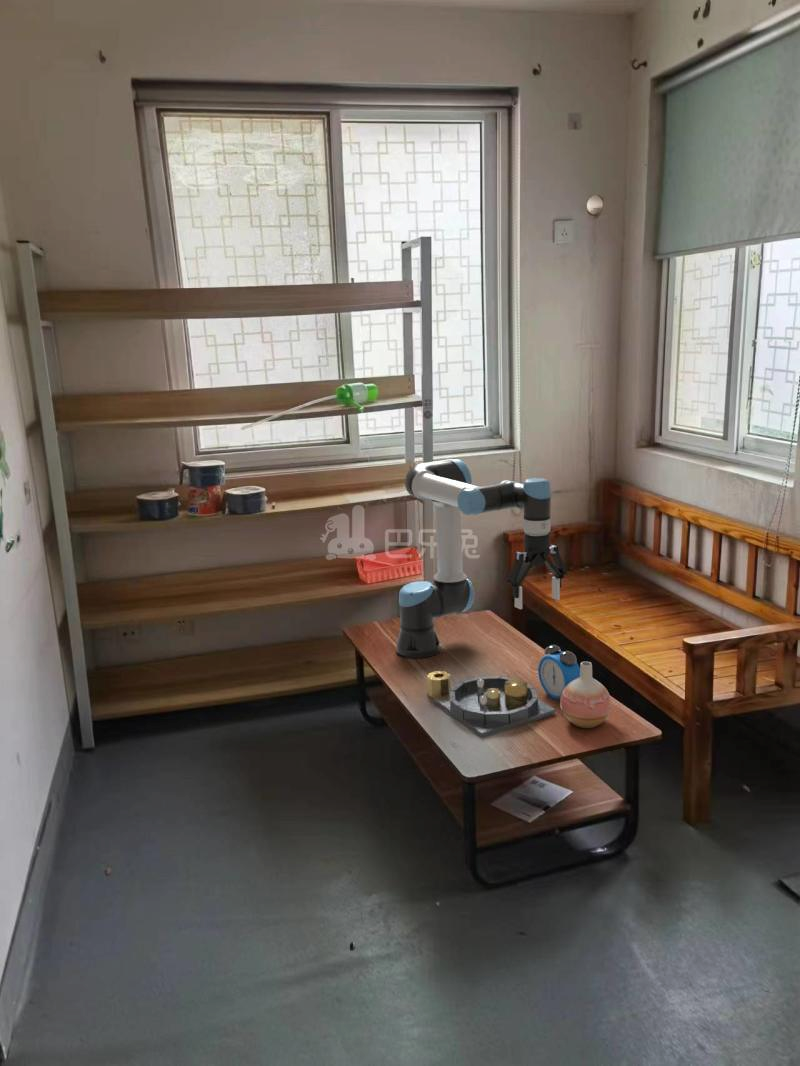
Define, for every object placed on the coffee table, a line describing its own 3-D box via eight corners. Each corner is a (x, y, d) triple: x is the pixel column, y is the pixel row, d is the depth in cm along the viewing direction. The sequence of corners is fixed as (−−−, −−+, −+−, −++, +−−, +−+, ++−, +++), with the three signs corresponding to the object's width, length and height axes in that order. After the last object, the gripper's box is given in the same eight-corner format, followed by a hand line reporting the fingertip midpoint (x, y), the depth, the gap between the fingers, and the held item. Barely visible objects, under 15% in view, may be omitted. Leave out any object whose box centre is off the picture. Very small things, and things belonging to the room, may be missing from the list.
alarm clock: (537, 690, 241) (537, 644, 237) (553, 685, 244) (553, 639, 240) (566, 706, 230) (567, 658, 226) (583, 701, 232) (583, 653, 229)
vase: (579, 739, 211) (580, 677, 207) (550, 718, 223) (550, 659, 219) (621, 727, 216) (623, 667, 212) (590, 707, 228) (591, 650, 224)
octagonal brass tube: (424, 692, 243) (423, 674, 241) (442, 687, 246) (442, 669, 244) (435, 700, 237) (434, 681, 236) (454, 695, 240) (453, 676, 239)
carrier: (434, 703, 236) (433, 679, 234) (503, 683, 247) (503, 660, 245) (481, 737, 214) (481, 712, 212) (555, 714, 225) (555, 689, 224)
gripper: (509, 542, 219) (510, 615, 224) (579, 528, 231) (579, 598, 236) (493, 536, 226) (494, 608, 231) (562, 524, 237) (562, 592, 242)
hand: (537, 603), depth 233 cm, fingers open, 13 cm apart
